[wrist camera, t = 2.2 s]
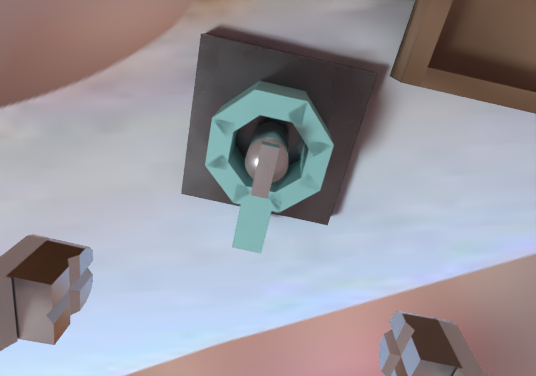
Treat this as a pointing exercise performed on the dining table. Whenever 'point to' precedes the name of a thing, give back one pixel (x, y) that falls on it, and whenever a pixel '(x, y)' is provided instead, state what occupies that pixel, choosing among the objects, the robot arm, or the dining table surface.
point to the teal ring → (233, 162)
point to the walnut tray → (472, 50)
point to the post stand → (273, 119)
